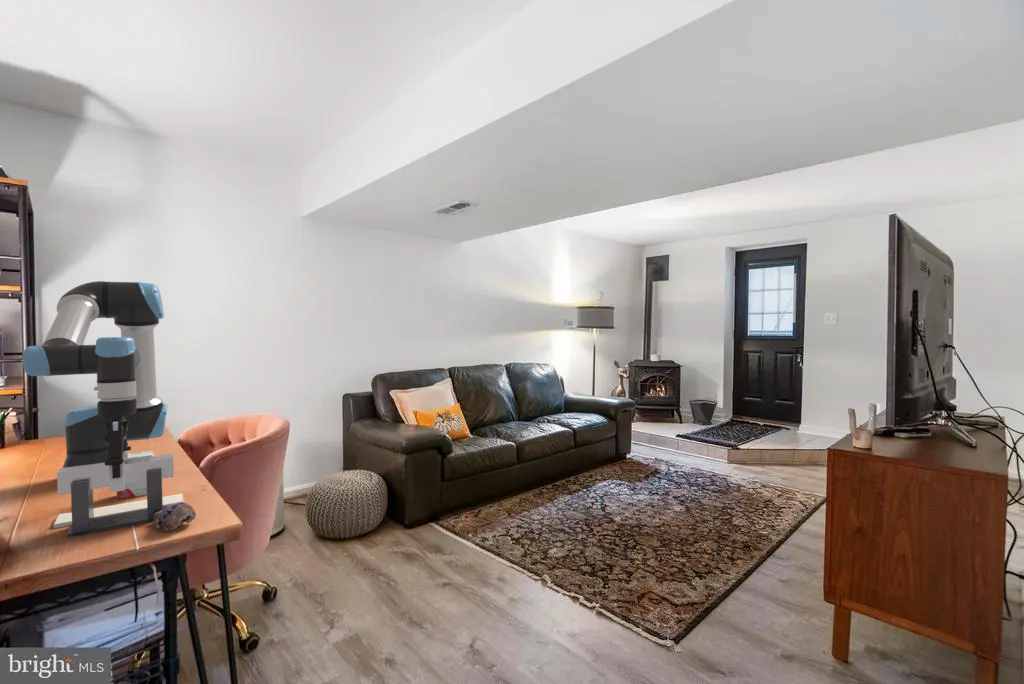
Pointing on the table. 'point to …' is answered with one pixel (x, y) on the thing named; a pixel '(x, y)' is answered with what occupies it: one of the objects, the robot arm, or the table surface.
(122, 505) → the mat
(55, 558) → the table surface
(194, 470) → the table surface
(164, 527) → the purple rock
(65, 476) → the whetstone
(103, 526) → the stand
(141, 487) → the ink box
